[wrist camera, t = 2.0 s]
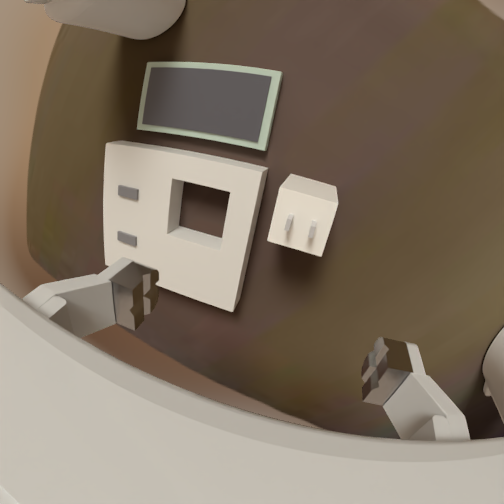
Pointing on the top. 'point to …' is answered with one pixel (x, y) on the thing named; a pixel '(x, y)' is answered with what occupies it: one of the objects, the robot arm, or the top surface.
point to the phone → (210, 101)
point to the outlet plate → (168, 216)
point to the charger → (303, 214)
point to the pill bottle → (117, 15)
